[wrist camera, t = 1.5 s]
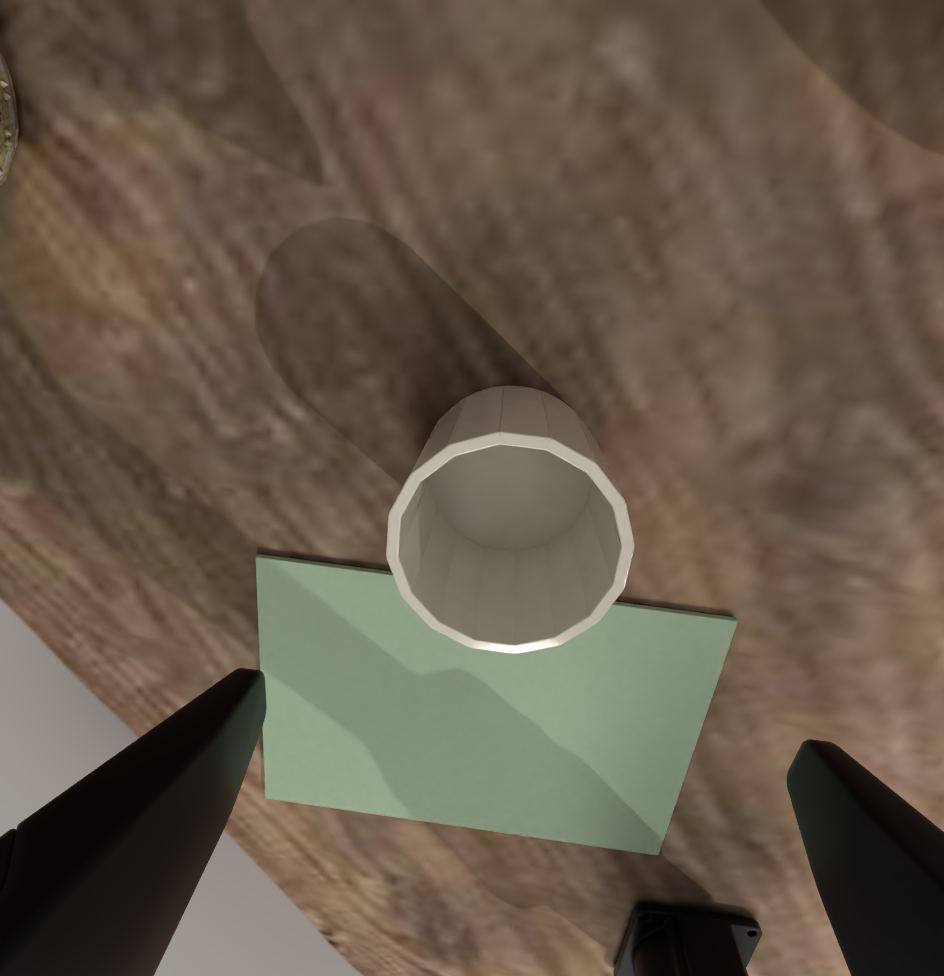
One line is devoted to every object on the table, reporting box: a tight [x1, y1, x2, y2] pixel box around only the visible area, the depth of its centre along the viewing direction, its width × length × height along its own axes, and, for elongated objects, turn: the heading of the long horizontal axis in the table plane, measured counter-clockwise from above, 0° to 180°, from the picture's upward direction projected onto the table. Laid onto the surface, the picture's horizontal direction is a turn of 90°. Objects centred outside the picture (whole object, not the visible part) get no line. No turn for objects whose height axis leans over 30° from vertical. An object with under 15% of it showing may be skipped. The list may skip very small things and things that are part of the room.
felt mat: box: [256, 554, 738, 856], centre depth 25 cm, size 14×20×1 cm
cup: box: [386, 385, 635, 654], centre depth 18 cm, size 7×7×6 cm
